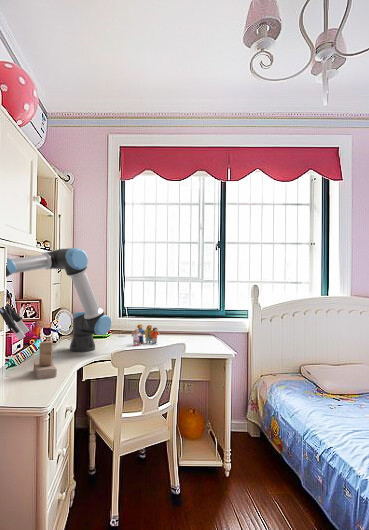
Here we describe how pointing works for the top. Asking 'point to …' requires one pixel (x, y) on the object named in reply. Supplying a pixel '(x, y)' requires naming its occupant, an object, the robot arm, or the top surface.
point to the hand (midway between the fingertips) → (24, 335)
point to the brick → (44, 371)
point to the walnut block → (45, 353)
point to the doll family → (150, 335)
